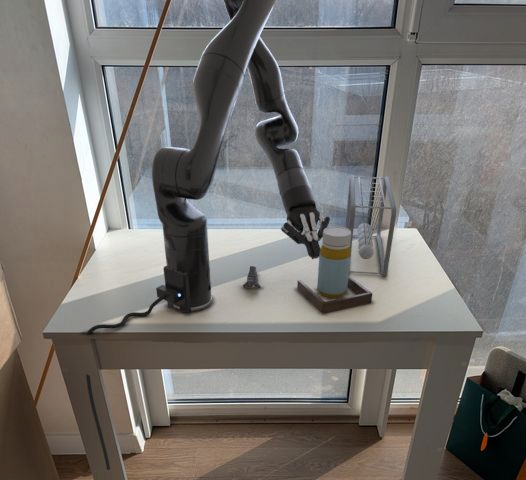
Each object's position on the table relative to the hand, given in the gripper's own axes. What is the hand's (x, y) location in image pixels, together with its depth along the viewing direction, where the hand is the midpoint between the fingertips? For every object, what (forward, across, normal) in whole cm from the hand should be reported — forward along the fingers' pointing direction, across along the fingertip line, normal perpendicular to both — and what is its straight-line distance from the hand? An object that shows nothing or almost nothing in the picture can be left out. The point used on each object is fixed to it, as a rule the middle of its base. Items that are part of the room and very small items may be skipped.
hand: (316, 257), depth 122 cm
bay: (+11, 0, -2) cm, 11 cm away
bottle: (+10, +1, -1) cm, 10 cm away
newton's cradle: (-2, +20, +11) cm, 23 cm away
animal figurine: (+2, -15, +7) cm, 17 cm away
